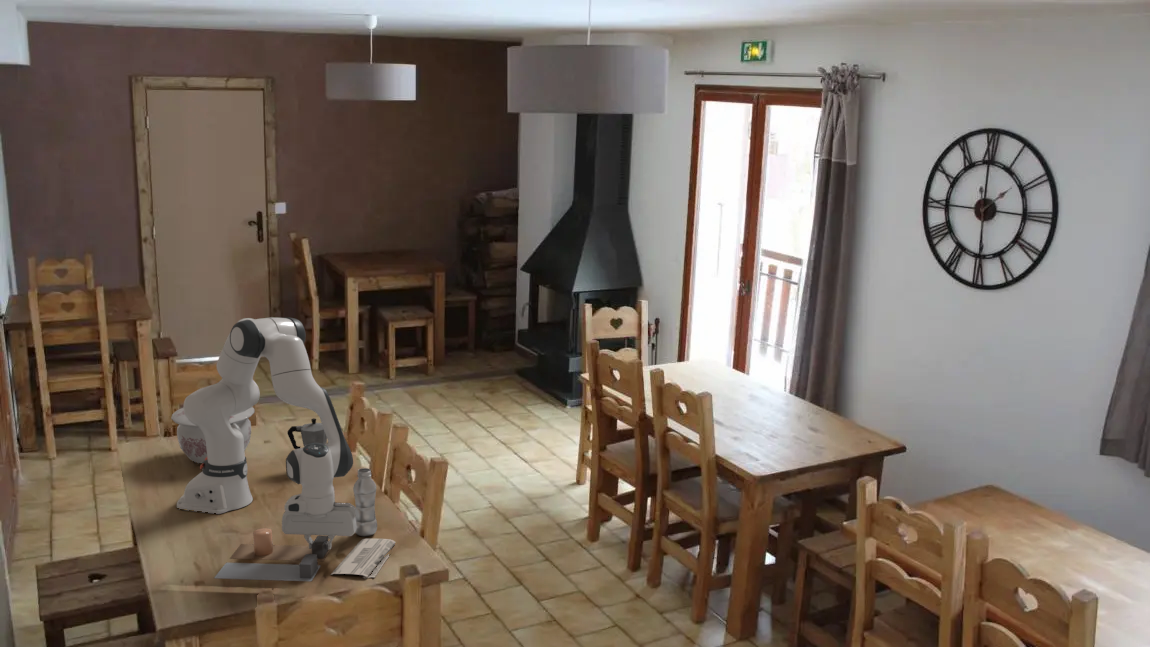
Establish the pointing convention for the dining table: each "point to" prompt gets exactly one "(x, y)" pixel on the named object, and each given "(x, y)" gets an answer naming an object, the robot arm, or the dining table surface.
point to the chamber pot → (195, 440)
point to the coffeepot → (308, 433)
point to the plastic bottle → (365, 503)
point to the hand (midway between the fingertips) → (320, 548)
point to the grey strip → (272, 570)
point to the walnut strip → (285, 551)
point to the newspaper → (366, 558)
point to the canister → (263, 542)
